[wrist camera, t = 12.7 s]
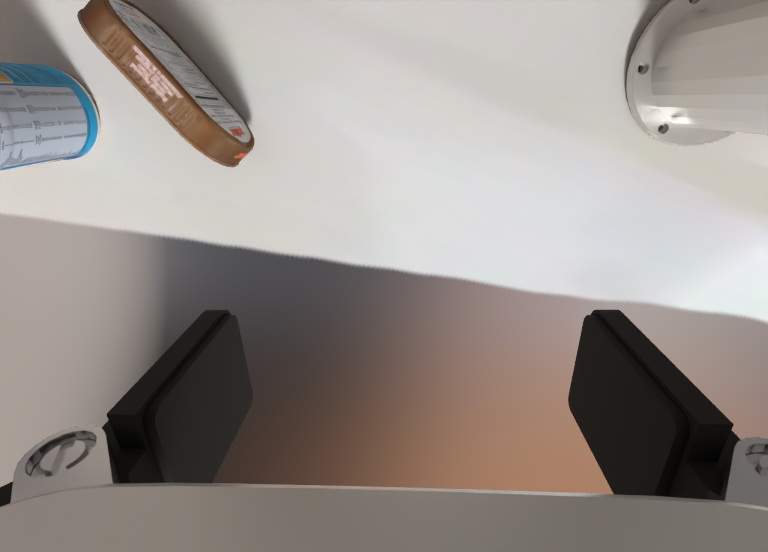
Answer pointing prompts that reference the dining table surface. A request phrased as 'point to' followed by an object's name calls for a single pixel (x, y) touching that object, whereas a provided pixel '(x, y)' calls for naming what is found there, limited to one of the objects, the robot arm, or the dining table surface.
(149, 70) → the tin
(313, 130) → the dining table surface
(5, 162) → the beverage bottle
